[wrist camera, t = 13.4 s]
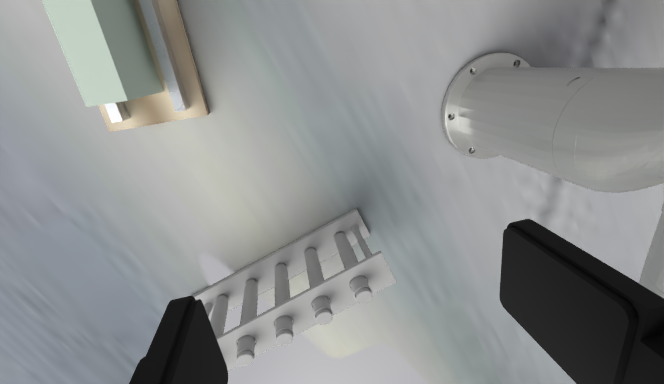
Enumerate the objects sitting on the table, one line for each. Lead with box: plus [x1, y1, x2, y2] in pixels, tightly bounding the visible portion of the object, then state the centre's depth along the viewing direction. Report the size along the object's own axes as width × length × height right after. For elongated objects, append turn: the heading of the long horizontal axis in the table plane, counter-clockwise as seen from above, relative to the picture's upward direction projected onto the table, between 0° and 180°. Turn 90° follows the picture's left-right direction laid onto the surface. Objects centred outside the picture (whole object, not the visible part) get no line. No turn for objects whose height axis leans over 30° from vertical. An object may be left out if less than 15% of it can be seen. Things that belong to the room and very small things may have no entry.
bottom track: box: [98, 0, 209, 132], centre depth 30 cm, size 10×18×3 cm, turn 9°
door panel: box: [42, 0, 163, 107], centre depth 27 cm, size 3×12×9 cm, turn 8°
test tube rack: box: [192, 209, 396, 371], centre depth 38 cm, size 25×4×13 cm, turn 117°
